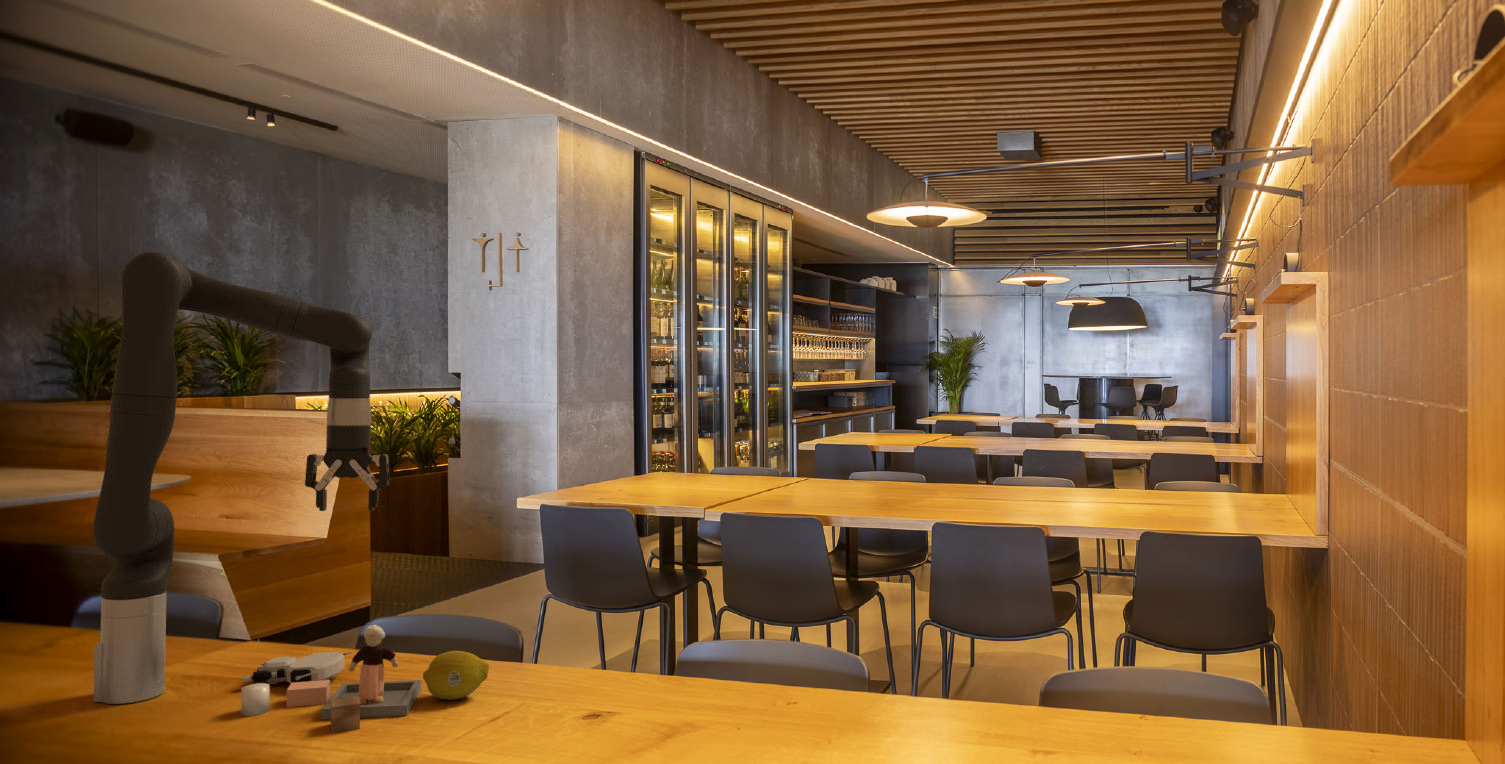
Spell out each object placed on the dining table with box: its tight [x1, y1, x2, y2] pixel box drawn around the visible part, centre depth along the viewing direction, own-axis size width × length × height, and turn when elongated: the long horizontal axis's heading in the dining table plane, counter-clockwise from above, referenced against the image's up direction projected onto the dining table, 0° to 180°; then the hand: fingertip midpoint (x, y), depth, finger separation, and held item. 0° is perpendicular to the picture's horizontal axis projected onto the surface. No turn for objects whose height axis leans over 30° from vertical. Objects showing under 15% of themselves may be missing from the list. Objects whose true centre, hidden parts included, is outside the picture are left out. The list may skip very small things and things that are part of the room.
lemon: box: [422, 650, 490, 701], centre depth 156 cm, size 11×8×8 cm
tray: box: [320, 679, 423, 721], centre depth 153 cm, size 13×13×2 cm
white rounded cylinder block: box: [240, 682, 271, 717], centre depth 148 cm, size 4×4×4 cm
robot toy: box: [242, 650, 353, 685], centre depth 164 cm, size 12×4×15 cm
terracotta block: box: [286, 679, 331, 708], centre depth 154 cm, size 6×4×3 cm, turn 107°
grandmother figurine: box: [348, 624, 399, 704], centre depth 153 cm, size 8×4×13 cm, turn 117°
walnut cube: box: [330, 696, 361, 734], centre depth 142 cm, size 4×4×4 cm
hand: (347, 510), depth 169 cm, fingers open, 8 cm apart
